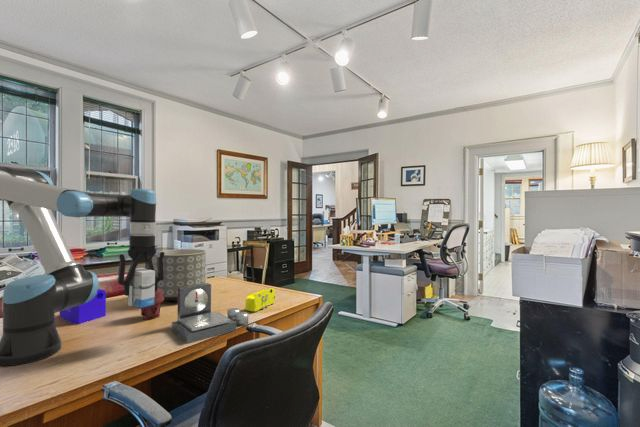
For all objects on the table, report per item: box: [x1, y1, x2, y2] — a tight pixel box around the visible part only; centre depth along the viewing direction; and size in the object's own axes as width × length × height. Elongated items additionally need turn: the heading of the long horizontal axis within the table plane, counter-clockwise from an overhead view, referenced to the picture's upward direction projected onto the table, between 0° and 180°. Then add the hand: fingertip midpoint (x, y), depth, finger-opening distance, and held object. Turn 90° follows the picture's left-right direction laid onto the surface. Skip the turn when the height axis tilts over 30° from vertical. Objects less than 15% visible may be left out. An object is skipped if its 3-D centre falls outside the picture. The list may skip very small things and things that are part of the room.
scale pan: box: [179, 310, 230, 331], centre depth 116 cm, size 14×13×1 cm
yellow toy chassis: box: [245, 287, 276, 313], centre depth 145 cm, size 16×6×8 cm, turn 155°
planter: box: [151, 248, 207, 302], centre depth 160 cm, size 25×25×24 cm
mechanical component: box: [140, 288, 165, 321], centre depth 130 cm, size 12×10×10 cm
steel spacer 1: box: [226, 307, 241, 321], centre depth 129 cm, size 5×5×4 cm
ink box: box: [130, 267, 155, 309], centre depth 105 cm, size 8×5×12 cm, turn 57°
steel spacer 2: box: [235, 311, 249, 327], centre depth 124 cm, size 5×5×4 cm
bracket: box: [59, 288, 107, 325], centre depth 130 cm, size 18×11×12 cm, turn 72°
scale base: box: [171, 282, 237, 344], centre depth 117 cm, size 18×19×15 cm
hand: (140, 302), depth 105 cm, fingers closed on ink box, 6 cm apart
